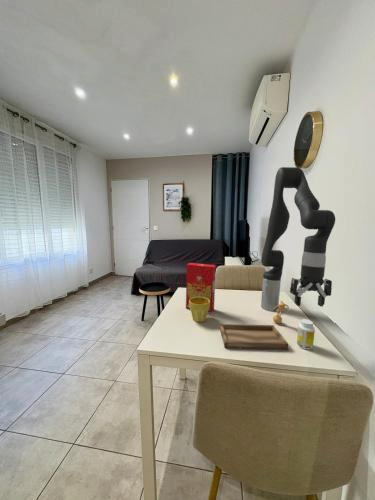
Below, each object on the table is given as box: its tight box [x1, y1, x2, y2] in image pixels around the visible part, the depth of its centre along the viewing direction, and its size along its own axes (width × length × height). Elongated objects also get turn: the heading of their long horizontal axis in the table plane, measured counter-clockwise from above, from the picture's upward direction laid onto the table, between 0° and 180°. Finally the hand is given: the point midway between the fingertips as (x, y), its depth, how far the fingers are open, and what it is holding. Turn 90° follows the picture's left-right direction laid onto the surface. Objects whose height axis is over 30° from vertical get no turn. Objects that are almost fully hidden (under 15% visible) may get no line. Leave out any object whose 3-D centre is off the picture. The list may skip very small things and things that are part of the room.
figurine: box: [272, 300, 290, 324], centre depth 96 cm, size 8×6×12 cm
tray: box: [219, 323, 289, 351], centre depth 84 cm, size 14×24×2 cm, turn 89°
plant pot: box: [189, 297, 210, 323], centre depth 100 cm, size 10×10×10 cm
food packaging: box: [185, 262, 217, 314], centre depth 110 cm, size 15×5×25 cm, turn 69°
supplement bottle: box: [296, 318, 316, 350], centre depth 79 cm, size 6×6×10 cm
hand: (308, 305), depth 78 cm, fingers open, 8 cm apart
